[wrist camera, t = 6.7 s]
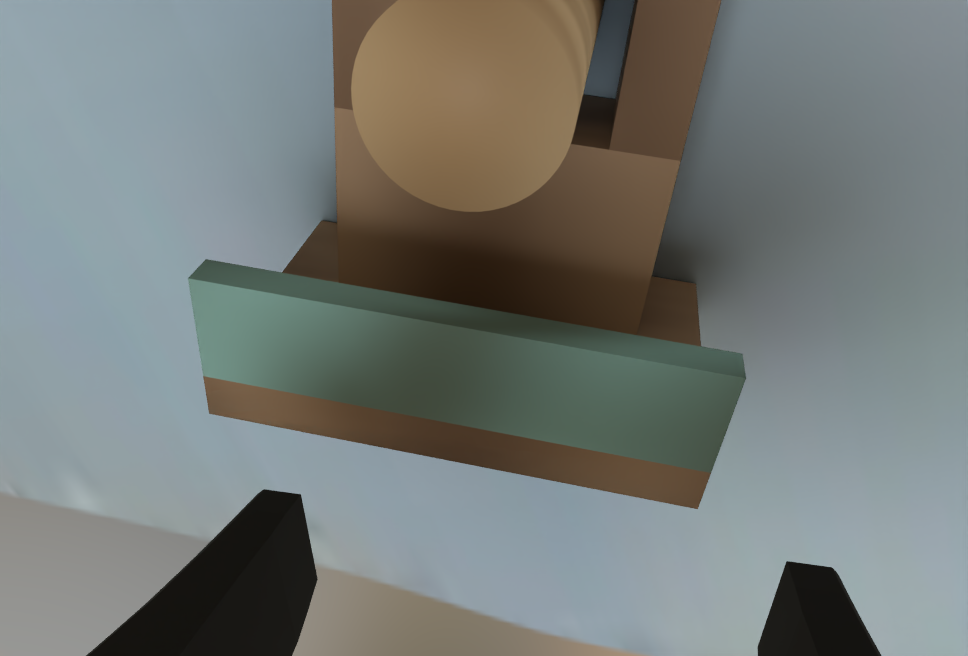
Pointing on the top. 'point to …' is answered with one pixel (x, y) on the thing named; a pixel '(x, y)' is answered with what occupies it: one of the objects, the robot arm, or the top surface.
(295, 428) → the brown boxy frame piece
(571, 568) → the top surface
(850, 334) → the top surface
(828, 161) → the top surface
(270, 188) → the top surface
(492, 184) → the oak peg
